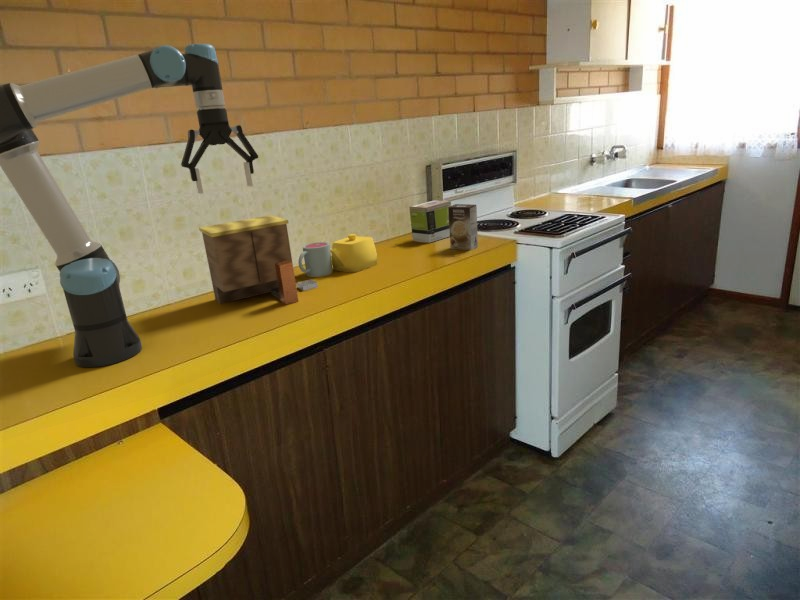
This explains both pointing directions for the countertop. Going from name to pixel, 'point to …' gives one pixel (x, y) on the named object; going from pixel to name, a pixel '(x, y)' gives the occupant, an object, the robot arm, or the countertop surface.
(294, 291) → the upright terracotta brick
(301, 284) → the token
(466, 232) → the coffee box
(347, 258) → the teapot
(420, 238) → the tea box
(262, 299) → the countertop surface
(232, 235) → the cabinet
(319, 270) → the mug
